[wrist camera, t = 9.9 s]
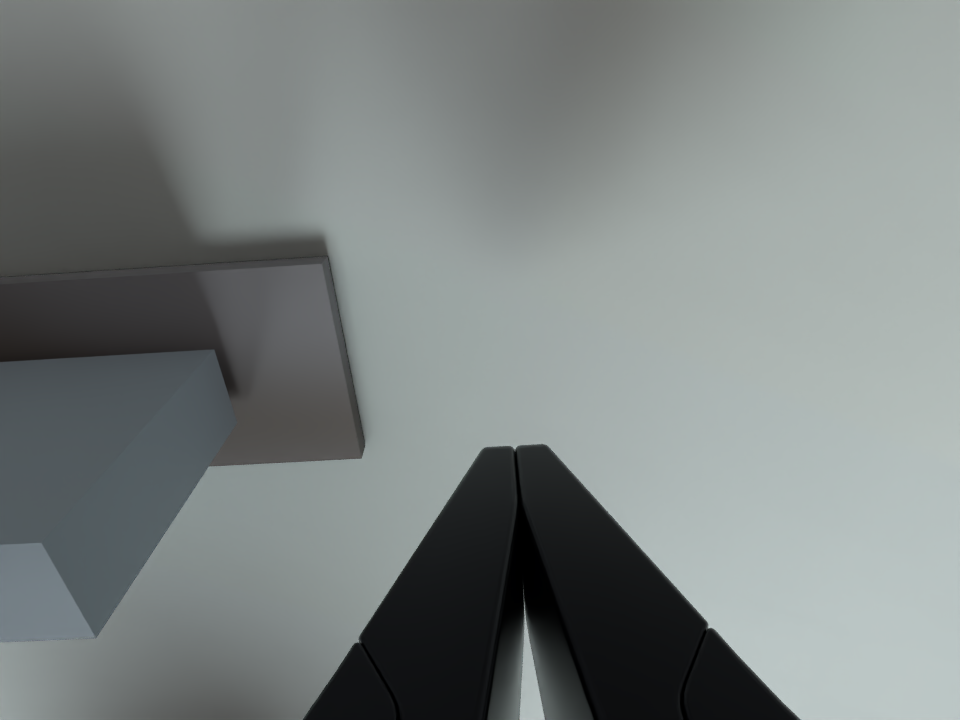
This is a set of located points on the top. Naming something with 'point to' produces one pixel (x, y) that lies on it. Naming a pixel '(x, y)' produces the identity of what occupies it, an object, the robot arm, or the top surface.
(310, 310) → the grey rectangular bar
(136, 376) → the grey flat block
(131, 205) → the top surface
